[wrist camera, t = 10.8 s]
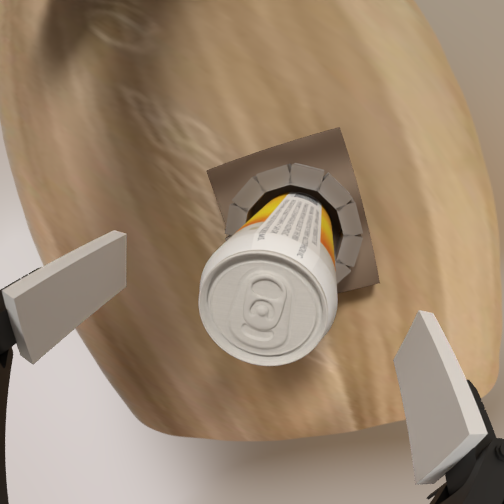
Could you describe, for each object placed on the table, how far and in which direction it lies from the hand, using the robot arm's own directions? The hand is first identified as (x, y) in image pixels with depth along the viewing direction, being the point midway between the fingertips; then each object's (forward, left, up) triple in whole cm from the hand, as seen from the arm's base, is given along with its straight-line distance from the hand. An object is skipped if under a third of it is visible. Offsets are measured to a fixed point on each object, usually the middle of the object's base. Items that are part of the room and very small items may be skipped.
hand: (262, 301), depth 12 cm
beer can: (0, 0, -15) cm, 15 cm away
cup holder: (0, 0, -17) cm, 17 cm away
